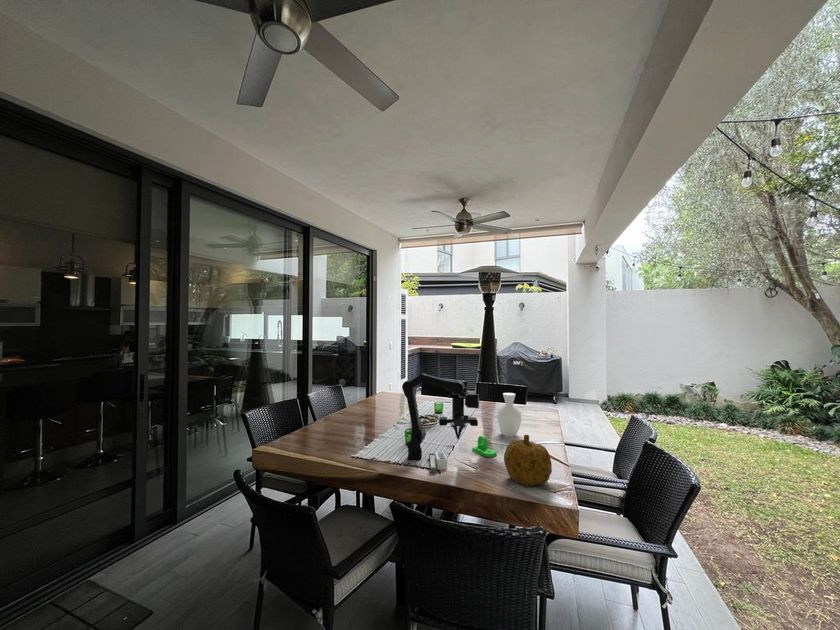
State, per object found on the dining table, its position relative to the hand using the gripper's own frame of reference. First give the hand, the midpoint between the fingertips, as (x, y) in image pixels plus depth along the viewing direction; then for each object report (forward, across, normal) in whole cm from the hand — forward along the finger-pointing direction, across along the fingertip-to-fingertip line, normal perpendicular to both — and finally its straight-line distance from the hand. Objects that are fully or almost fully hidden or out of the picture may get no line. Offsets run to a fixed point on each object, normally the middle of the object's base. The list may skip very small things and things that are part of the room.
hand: (458, 438), depth 173 cm
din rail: (+12, -12, -4) cm, 18 cm away
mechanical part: (+12, +15, +14) cm, 24 cm away
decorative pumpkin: (+12, +29, -18) cm, 36 cm away
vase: (+12, +35, +46) cm, 59 cm away
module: (+12, -8, -4) cm, 15 cm away
